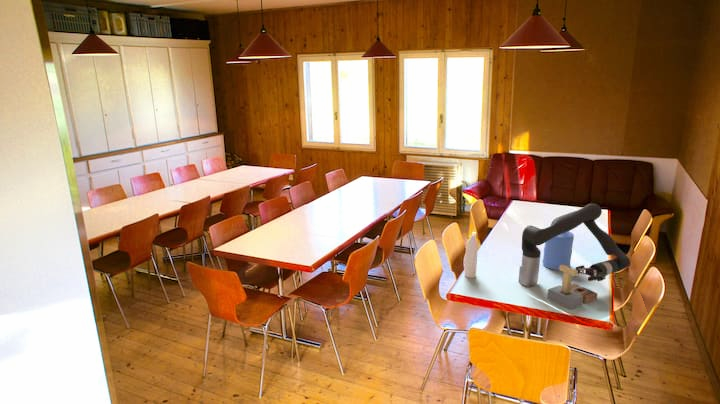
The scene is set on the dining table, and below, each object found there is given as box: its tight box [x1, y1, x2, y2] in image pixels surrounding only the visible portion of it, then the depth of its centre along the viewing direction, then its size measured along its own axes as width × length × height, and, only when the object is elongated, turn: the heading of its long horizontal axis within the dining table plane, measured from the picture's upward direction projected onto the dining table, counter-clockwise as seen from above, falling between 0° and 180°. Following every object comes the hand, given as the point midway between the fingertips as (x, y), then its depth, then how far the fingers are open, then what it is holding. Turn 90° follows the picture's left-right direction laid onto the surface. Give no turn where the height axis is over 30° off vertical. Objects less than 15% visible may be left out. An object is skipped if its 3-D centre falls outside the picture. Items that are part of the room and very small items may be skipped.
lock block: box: [571, 282, 598, 304], centre depth 250 cm, size 14×9×4 cm, turn 30°
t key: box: [558, 264, 579, 295], centre depth 242 cm, size 9×3×18 cm, turn 30°
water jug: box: [542, 231, 575, 271], centre depth 286 cm, size 16×16×28 cm
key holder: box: [547, 284, 584, 310], centre depth 244 cm, size 14×9×6 cm, turn 30°
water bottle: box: [464, 231, 479, 279], centre depth 275 cm, size 9×6×25 cm
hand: (581, 276), depth 247 cm, fingers open, 8 cm apart
